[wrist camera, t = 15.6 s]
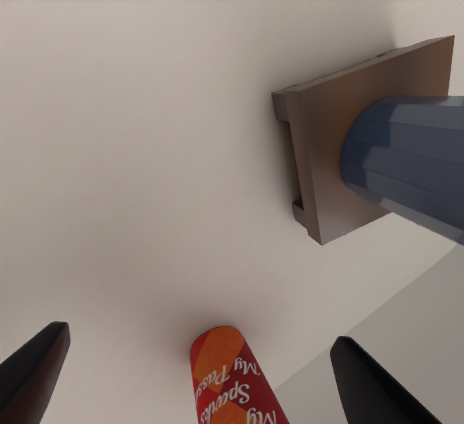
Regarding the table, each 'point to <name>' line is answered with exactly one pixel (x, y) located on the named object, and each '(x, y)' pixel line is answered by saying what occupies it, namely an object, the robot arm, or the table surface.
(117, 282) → the table surface
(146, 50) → the table surface
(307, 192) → the stand
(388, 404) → the robot arm
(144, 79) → the table surface
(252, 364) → the paper cup
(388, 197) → the tumbler
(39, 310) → the table surface
